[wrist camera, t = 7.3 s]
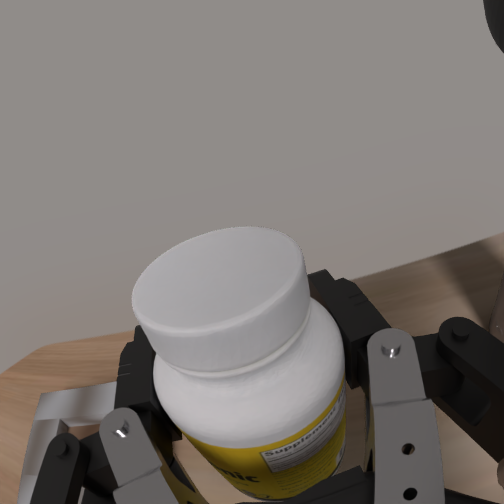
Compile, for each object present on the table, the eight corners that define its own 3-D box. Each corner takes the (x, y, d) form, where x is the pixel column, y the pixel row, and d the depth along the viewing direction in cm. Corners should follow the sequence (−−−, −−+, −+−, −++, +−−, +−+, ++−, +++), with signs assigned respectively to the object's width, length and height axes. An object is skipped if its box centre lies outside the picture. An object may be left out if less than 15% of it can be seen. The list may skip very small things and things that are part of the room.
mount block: (167, 392, 28) (154, 373, 26) (176, 526, 16) (158, 518, 14) (56, 410, 27) (41, 393, 25) (39, 519, 15) (16, 507, 13)
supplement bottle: (202, 441, 13) (93, 271, 8) (295, 384, 15) (252, 198, 10) (264, 529, 9) (132, 412, 4) (371, 452, 11) (394, 252, 6)
